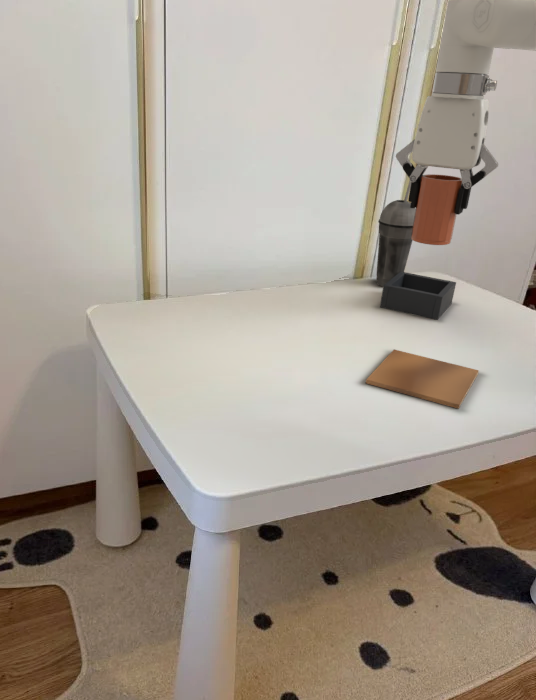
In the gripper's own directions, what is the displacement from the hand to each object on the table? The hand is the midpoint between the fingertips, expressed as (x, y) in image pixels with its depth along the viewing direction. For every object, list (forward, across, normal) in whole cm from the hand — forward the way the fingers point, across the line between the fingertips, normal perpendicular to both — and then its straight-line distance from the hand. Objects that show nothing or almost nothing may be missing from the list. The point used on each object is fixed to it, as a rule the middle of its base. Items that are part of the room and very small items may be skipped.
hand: (436, 209), depth 103 cm
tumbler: (+5, 0, 0) cm, 5 cm away
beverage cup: (+17, +8, -9) cm, 21 cm away
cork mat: (+17, -9, +29) cm, 34 cm away
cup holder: (+17, 0, 0) cm, 17 cm away
